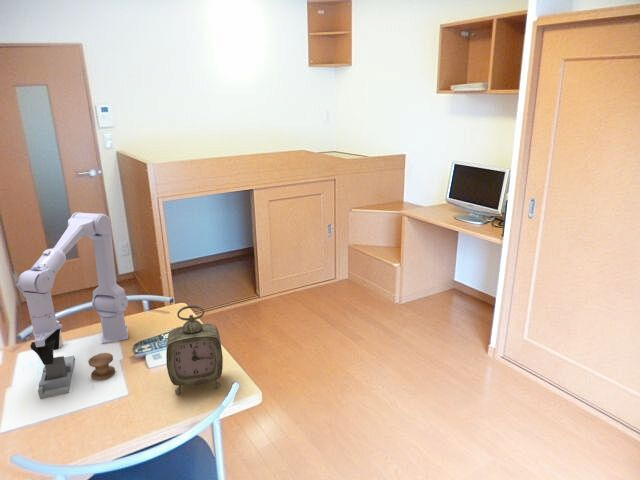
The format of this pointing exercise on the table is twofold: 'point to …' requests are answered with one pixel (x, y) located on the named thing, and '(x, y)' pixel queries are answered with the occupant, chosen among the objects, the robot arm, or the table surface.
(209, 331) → the tabletop clock
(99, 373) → the spool
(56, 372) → the dark grey block
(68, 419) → the table surface
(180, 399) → the table surface
